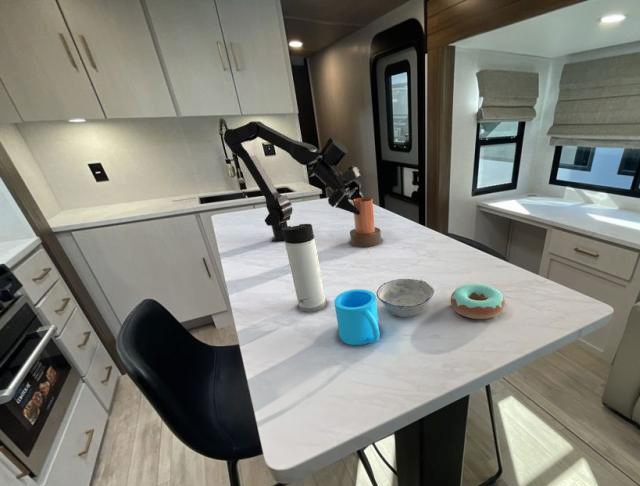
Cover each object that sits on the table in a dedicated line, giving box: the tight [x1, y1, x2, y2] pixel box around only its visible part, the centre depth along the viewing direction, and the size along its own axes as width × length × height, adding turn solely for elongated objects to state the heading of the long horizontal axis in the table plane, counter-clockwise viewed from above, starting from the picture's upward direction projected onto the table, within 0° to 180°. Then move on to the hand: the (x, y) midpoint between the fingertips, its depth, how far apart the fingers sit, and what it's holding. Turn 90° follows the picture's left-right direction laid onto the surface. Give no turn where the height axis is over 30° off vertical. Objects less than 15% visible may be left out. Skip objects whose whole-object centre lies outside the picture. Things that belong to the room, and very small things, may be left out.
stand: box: [349, 226, 382, 248], centre depth 115 cm, size 11×11×4 cm
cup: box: [351, 197, 376, 234], centre depth 111 cm, size 7×7×11 cm
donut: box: [450, 283, 506, 320], centre depth 72 cm, size 12×12×4 cm
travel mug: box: [282, 223, 326, 313], centre depth 72 cm, size 6×7×20 cm
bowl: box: [376, 278, 435, 318], centre depth 73 cm, size 13×13×5 cm
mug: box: [333, 288, 381, 346], centre depth 63 cm, size 12×8×8 cm
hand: (363, 210), depth 111 cm, fingers open, 9 cm apart
